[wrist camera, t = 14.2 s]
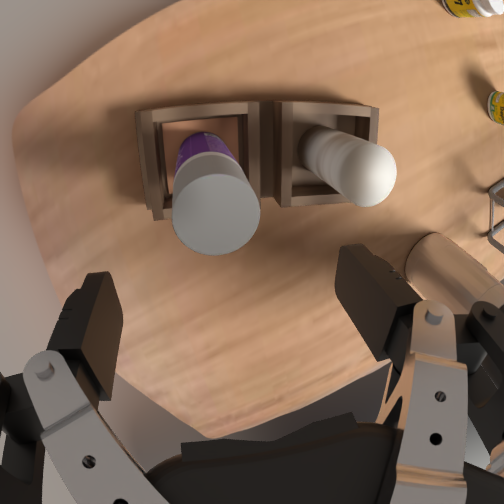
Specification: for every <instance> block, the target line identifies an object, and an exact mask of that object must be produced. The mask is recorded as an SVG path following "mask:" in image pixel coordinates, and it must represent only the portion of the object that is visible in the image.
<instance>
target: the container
mask: <svg viewBox="0 0 504 504" xmlns="http://www.w3.org/2000/svg"><path fill="white" fill-rule="evenodd" d="M259 219H260V206H259V202H258V199H257V197H256V195H255V193H254V191H253V189H252V187H251V185H250V184H249V182H248V180H247V178H246V176H245V174H244V172H243V170H242V169H241V167H240V165H239V164H238V162H237V161H236V159H235V158H234V157H233V155H232V154H231V152H230V151H229V149H228V148H227V146H226V145H225V143H224V142H223V141H222V139H221V138H220V137H218V136H217V135H215V134H213V133H210V132H196V133H194V134H191V135H190V136H188V137H187V138H186V139H185V140H184V141H183V142H182V144H181V146H180V148H179V152H178V157H177V163H176V169H175V175H174V182H173V198H172V224H173V228H174V231H175V233H176V235H177V236H178V238H179V239H180V240H181V242H182V243H183V244H184V245H186V246H187V247H188V248H190V249H191V250H193V251H195V252H198V253H201V254H205V255H223V254H227V253H230V252H233V251H235V250H237V249H239V248H240V247H242V246H243V245H244V244H246V243H247V242H248V241H249V240H250V238H251V237H252V236H253V234H254V233H255V231H256V229H257V227H258V224H259Z"/></svg>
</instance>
